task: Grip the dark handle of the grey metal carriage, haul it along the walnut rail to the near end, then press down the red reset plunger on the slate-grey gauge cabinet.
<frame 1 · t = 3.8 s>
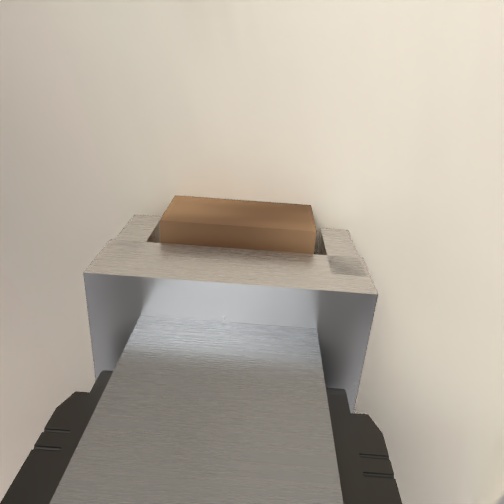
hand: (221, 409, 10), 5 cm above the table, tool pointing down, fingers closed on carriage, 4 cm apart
rail: (230, 434, 17), on the table
carriage: (220, 428, 10), point 5 cm above the table, slide at 6.0 cm, touching gripper
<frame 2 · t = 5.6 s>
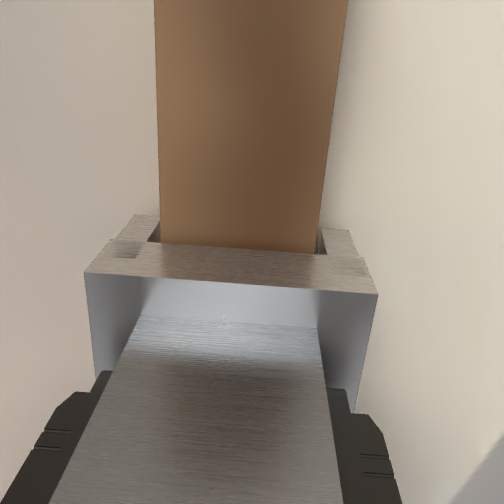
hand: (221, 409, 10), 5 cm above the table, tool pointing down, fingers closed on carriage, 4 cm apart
rail: (239, 262, 14), on the table
carriage: (220, 428, 10), point 5 cm above the table, slide at -1.5 cm, touching gripper
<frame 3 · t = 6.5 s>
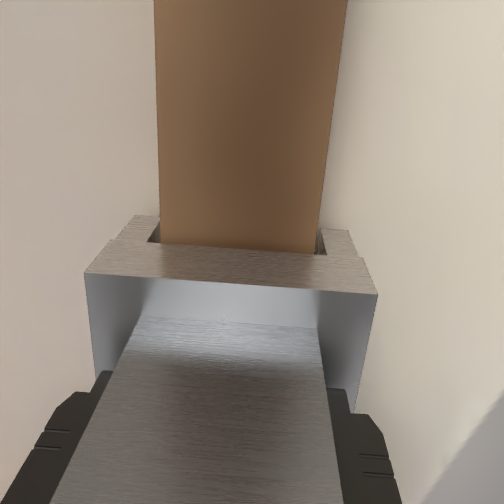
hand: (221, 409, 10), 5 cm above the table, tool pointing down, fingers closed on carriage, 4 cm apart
rail: (247, 119, 12), on the table
carriage: (220, 428, 10), point 5 cm above the table, slide at -5.8 cm, touching gripper
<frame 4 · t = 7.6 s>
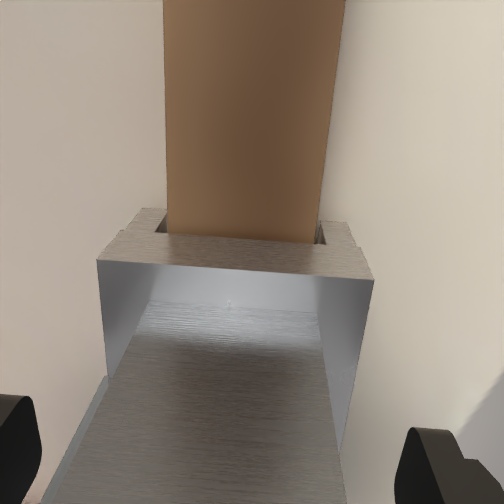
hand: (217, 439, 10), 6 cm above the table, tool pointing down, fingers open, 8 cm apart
gauge cabinet: (207, 441, 18), on the table
rail: (250, 113, 13), on the table
carriage: (225, 407, 10), point 5 cm above the table, slide at -5.9 cm
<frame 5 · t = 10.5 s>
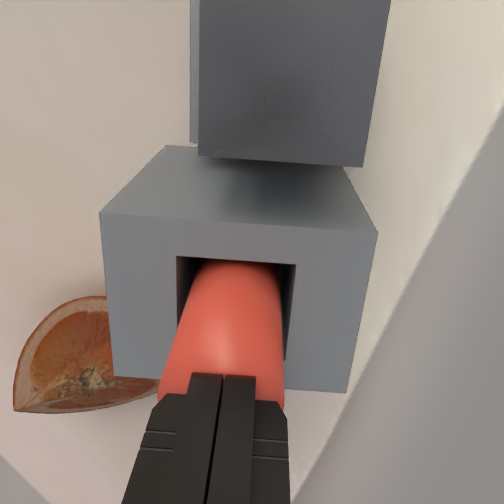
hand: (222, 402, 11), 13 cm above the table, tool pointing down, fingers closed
gauge cabinet: (247, 211, 22), on the table
fruit slice: (119, 330, 26), on the table
carriage: (283, 63, 14), point 5 cm above the table, slide at -5.9 cm
reset button: (232, 317, 14), point 9 cm above the table, slide at -0.1 cm, touching gripper
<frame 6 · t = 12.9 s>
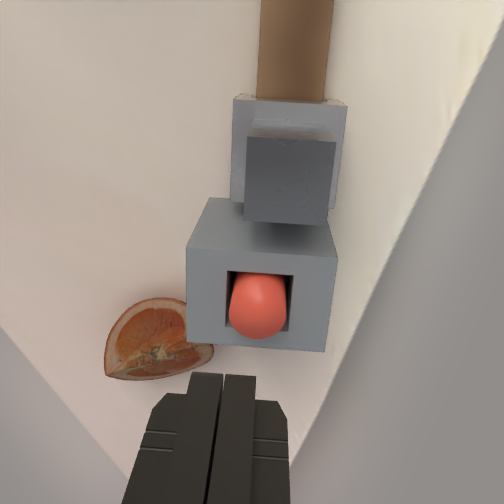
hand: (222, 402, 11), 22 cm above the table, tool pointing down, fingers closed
gauge cabinet: (263, 240, 33), on the table
fruit slice: (171, 323, 37), on the table
rail: (292, 47, 28), on the table
carriage: (286, 160, 25), point 5 cm above the table, slide at -5.9 cm
reset button: (259, 283, 27), point 7 cm above the table, slide at -2.7 cm
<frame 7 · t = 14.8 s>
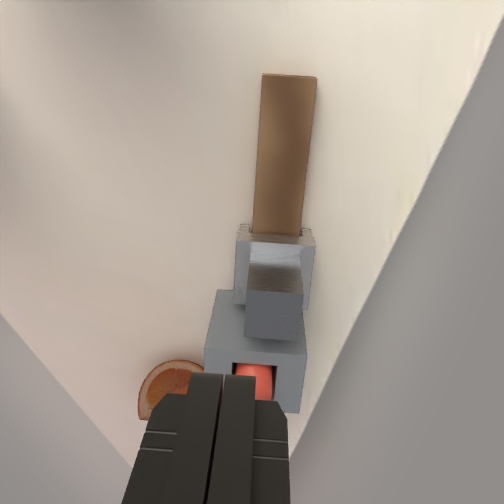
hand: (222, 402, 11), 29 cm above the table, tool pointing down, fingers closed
gauge cabinet: (256, 318, 44), on the table
fruit slice: (186, 375, 48), on the table
rail: (278, 193, 38), on the table
carriage: (272, 283, 36), point 5 cm above the table, slide at -5.9 cm
reset button: (254, 364, 38), point 7 cm above the table, slide at -2.7 cm
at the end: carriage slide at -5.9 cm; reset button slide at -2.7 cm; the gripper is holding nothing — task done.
